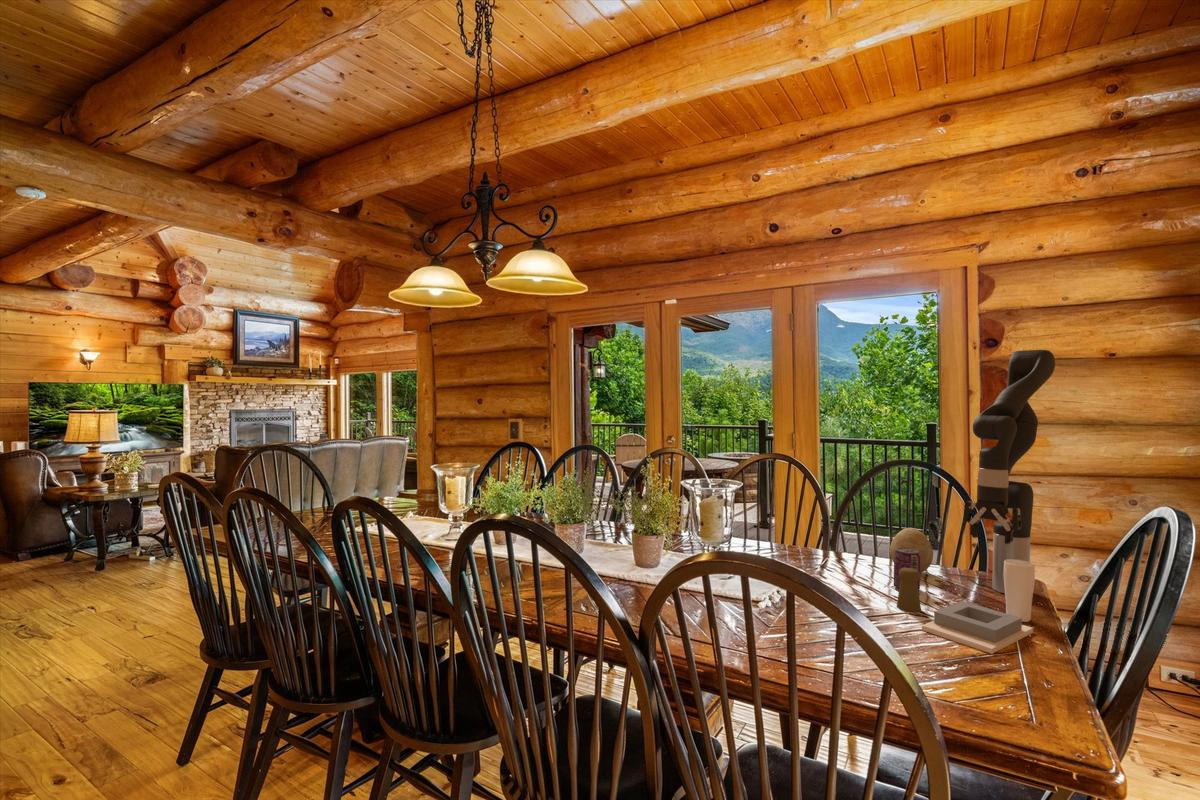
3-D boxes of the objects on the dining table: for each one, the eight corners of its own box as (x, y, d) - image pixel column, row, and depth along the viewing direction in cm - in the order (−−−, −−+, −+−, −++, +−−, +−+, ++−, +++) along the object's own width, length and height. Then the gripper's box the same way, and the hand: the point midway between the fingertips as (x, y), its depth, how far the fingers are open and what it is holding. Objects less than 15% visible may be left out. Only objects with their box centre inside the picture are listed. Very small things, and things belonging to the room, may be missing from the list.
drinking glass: (1030, 616, 158) (1031, 561, 158) (1036, 625, 152) (1037, 567, 152) (1000, 612, 161) (1001, 557, 161) (1005, 621, 155) (1006, 564, 155)
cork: (924, 613, 160) (924, 572, 160) (900, 611, 162) (900, 571, 161) (917, 605, 166) (917, 566, 166) (893, 603, 168) (894, 565, 167)
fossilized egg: (922, 567, 202) (922, 524, 201) (940, 579, 189) (941, 533, 189) (883, 566, 203) (884, 523, 202) (898, 578, 190) (899, 532, 190)
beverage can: (920, 588, 181) (921, 549, 181) (918, 594, 175) (919, 554, 175) (894, 583, 185) (895, 545, 184) (892, 590, 179) (892, 550, 178)
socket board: (964, 612, 161) (965, 597, 161) (1033, 632, 148) (1033, 615, 148) (921, 630, 149) (922, 613, 149) (991, 653, 136) (992, 635, 136)
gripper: (1026, 487, 167) (1024, 544, 167) (972, 480, 179) (970, 534, 179) (1015, 488, 163) (1013, 547, 163) (960, 481, 175) (958, 536, 175)
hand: (990, 540), depth 171 cm, fingers open, 8 cm apart
